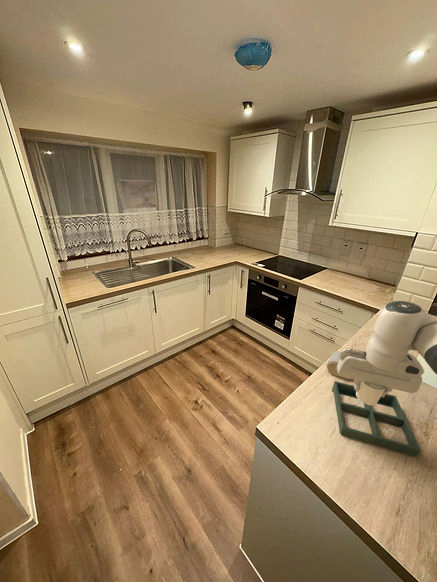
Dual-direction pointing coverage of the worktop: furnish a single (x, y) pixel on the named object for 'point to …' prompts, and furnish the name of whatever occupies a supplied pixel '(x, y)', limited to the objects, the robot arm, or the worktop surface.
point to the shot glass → (369, 393)
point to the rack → (372, 416)
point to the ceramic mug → (334, 363)
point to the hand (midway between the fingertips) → (368, 392)
